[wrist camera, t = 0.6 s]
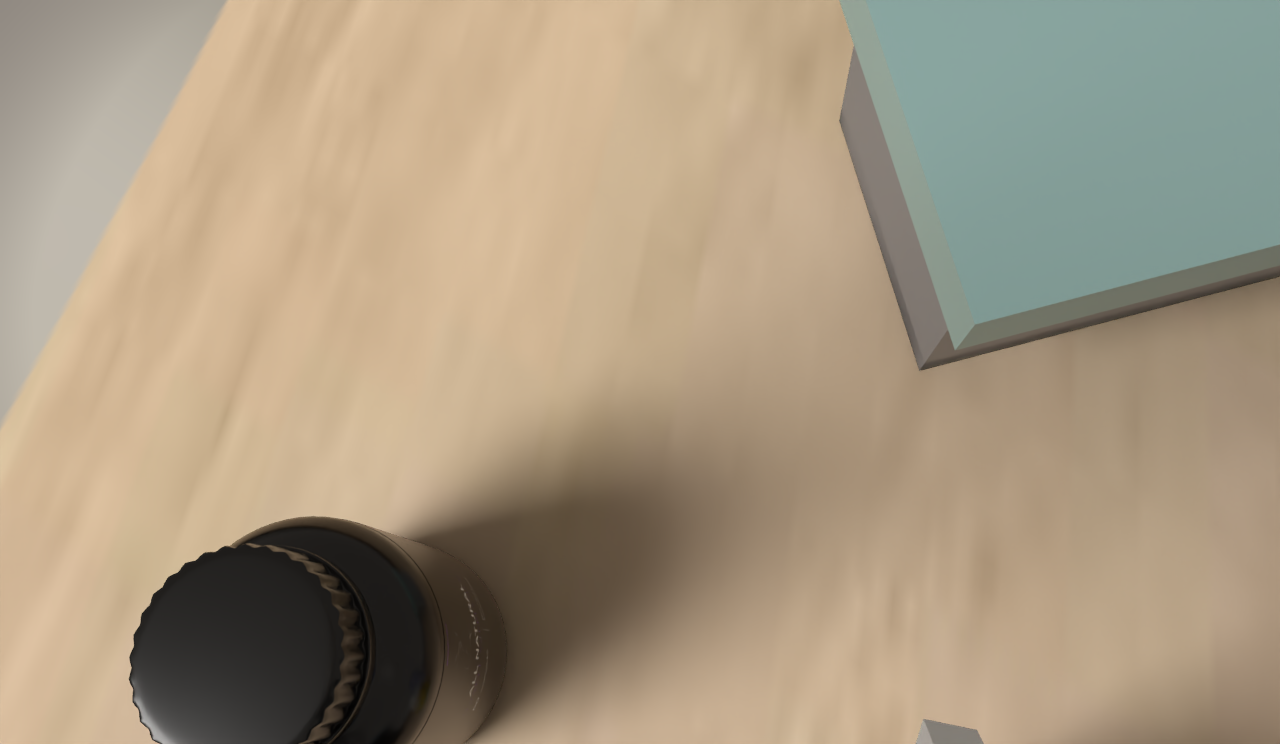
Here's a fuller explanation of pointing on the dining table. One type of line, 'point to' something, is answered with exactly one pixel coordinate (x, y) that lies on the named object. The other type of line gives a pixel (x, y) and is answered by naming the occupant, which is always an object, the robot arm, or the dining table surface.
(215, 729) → the supplement bottle
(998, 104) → the lid
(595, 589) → the dining table surface
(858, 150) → the box
